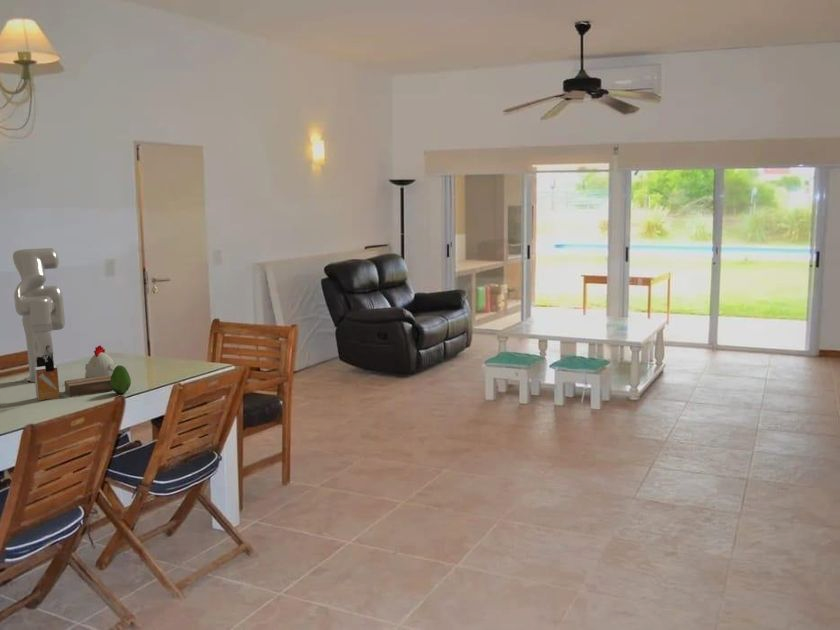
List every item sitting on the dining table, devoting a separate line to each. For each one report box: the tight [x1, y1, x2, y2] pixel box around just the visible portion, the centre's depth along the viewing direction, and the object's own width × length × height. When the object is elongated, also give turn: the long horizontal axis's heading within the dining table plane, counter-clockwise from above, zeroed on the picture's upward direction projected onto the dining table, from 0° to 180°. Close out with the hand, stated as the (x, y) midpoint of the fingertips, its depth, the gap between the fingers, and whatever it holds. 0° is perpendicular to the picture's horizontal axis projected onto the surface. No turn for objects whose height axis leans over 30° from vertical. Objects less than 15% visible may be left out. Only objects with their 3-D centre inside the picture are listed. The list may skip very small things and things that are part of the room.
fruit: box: [110, 365, 132, 394], centre depth 332 cm, size 8×8×12 cm
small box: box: [34, 364, 61, 401], centre depth 327 cm, size 8×6×13 cm
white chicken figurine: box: [84, 345, 117, 378], centre depth 363 cm, size 14×14×15 cm
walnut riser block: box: [64, 375, 113, 397], centre depth 339 cm, size 12×18×5 cm, turn 123°
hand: (45, 369), depth 326 cm, fingers open, 9 cm apart
